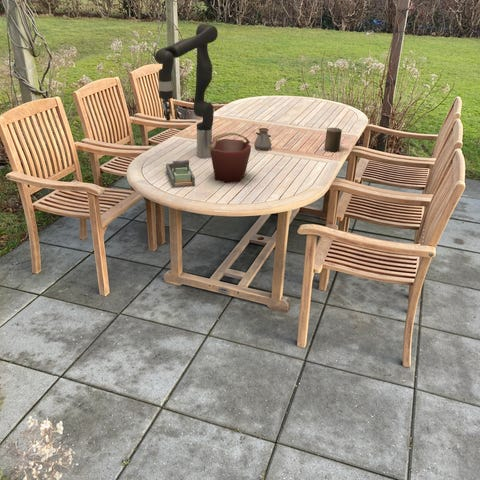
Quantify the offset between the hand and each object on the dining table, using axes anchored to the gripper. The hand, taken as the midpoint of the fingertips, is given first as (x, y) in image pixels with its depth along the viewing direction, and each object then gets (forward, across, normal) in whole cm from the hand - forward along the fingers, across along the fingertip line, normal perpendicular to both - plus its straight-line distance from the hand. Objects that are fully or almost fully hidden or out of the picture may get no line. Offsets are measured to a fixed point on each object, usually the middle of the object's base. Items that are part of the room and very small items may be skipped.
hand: (166, 118), depth 282 cm
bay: (+28, -22, -3) cm, 35 cm away
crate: (+27, -26, -3) cm, 38 cm away
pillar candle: (+28, +7, -108) cm, 112 cm away
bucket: (+28, -24, -30) cm, 48 cm away
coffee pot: (+28, +14, -61) cm, 69 cm away
